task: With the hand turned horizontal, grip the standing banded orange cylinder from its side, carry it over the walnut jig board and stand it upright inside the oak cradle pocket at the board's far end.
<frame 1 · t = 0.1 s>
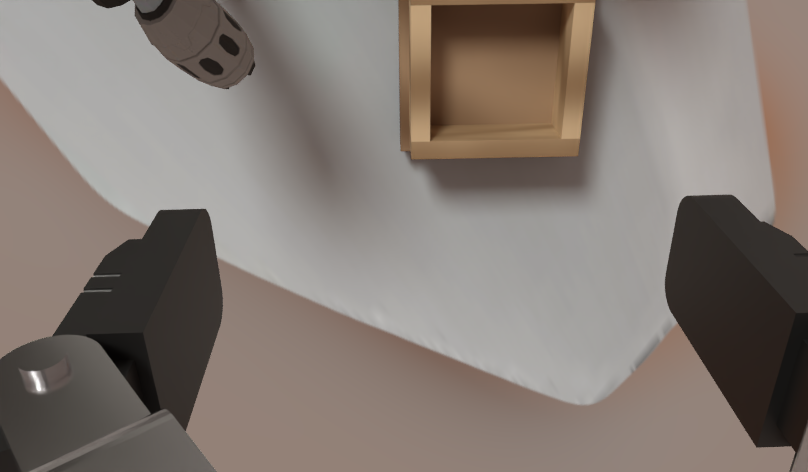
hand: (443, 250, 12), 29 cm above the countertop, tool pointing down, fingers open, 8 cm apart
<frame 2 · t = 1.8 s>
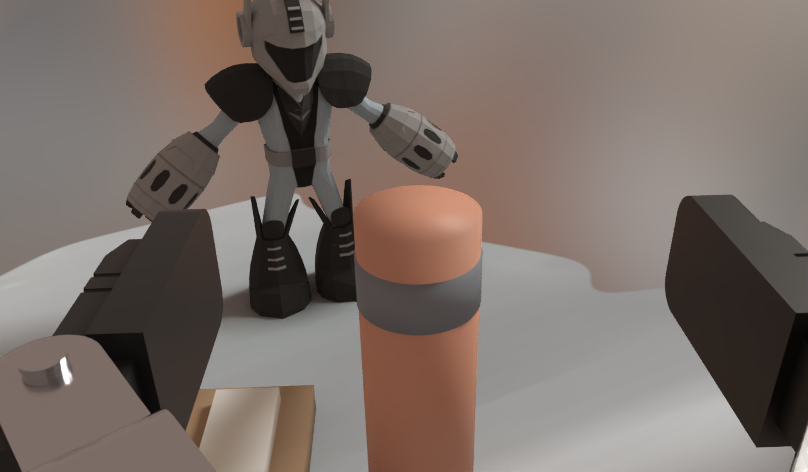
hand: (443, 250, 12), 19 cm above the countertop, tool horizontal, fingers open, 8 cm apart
robot: (312, 292, 46), on the countertop
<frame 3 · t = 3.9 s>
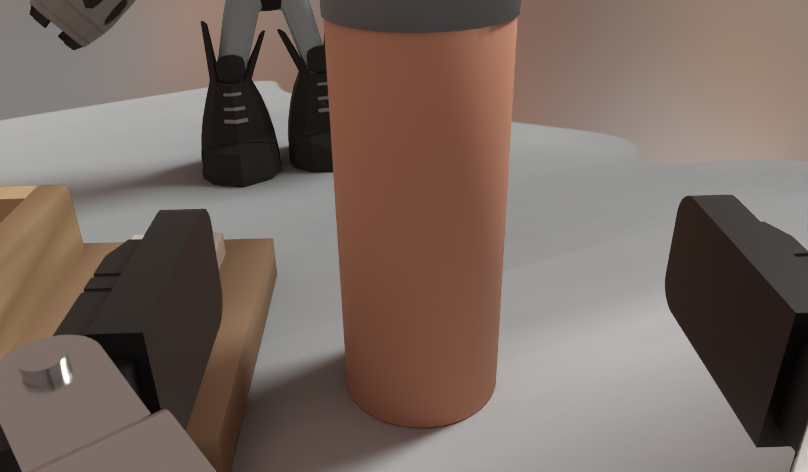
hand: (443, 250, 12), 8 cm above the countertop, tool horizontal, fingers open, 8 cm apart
banded orange cylinder: (421, 375, 21), on the countertop
robot: (284, 165, 36), on the countertop
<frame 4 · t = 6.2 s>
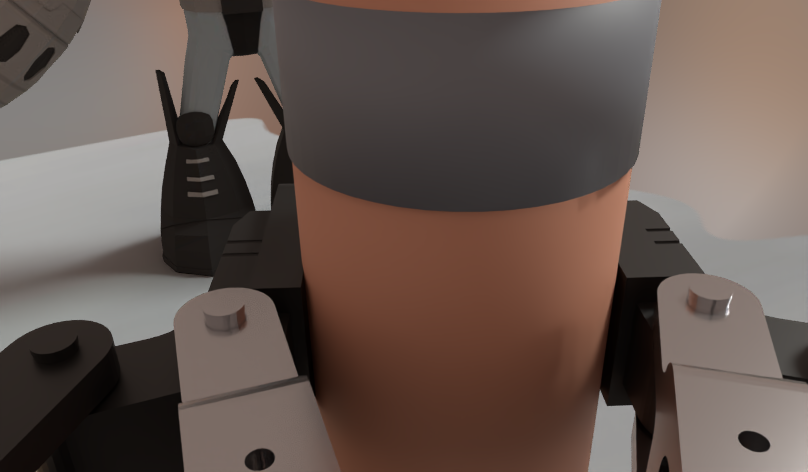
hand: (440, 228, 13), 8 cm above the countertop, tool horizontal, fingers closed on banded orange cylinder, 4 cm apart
robot: (266, 240, 29), on the countertop
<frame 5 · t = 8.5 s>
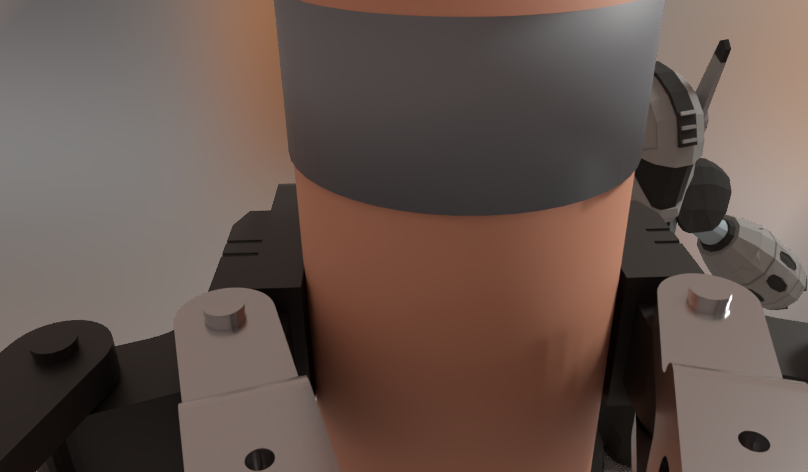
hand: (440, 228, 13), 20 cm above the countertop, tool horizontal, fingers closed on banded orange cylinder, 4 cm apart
robot: (596, 451, 35), on the countertop
when the fingers open (11 cm above the countertop, at t = 10.8 s): banded orange cylinder drops 1 cm, resting on jig.
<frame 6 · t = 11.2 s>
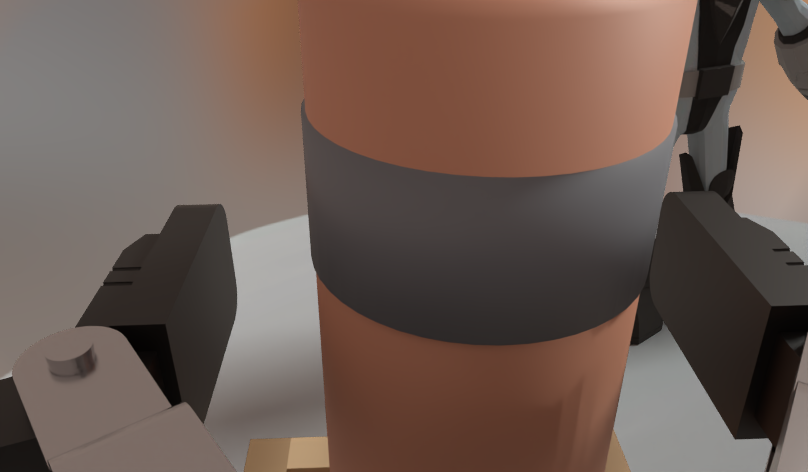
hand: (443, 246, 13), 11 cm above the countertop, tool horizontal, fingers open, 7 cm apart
robot: (651, 303, 30), on the countertop
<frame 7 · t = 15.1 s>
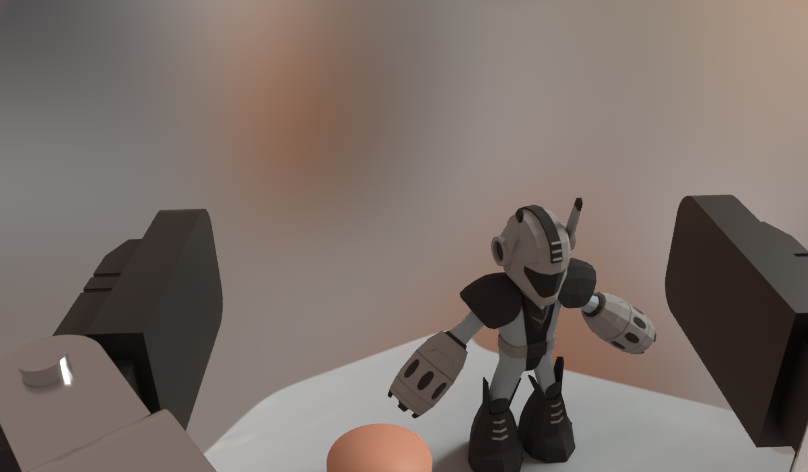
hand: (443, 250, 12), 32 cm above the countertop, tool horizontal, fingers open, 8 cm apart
robot: (519, 450, 52), on the countertop
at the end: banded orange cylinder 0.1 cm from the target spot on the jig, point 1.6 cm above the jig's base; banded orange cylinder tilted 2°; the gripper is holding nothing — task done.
